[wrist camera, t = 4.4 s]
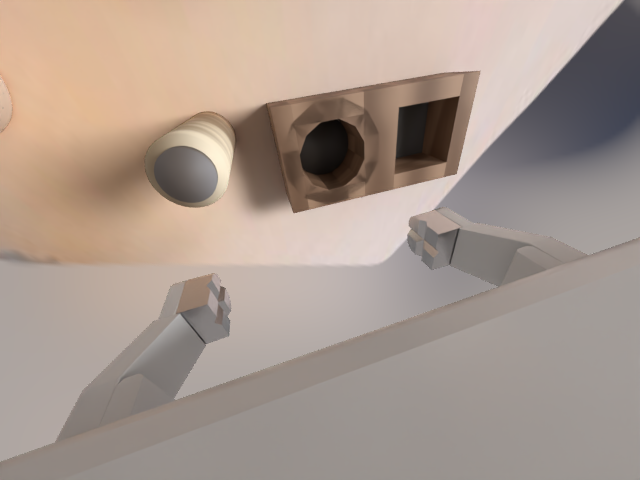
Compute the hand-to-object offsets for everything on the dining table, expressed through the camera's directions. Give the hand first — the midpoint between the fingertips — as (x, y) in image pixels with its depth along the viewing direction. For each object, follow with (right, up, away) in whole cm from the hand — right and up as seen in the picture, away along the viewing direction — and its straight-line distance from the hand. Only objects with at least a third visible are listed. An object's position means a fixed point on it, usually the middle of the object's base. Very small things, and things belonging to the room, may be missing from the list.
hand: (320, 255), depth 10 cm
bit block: (+5, +13, +18) cm, 22 cm away
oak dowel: (-11, +11, +14) cm, 21 cm away
